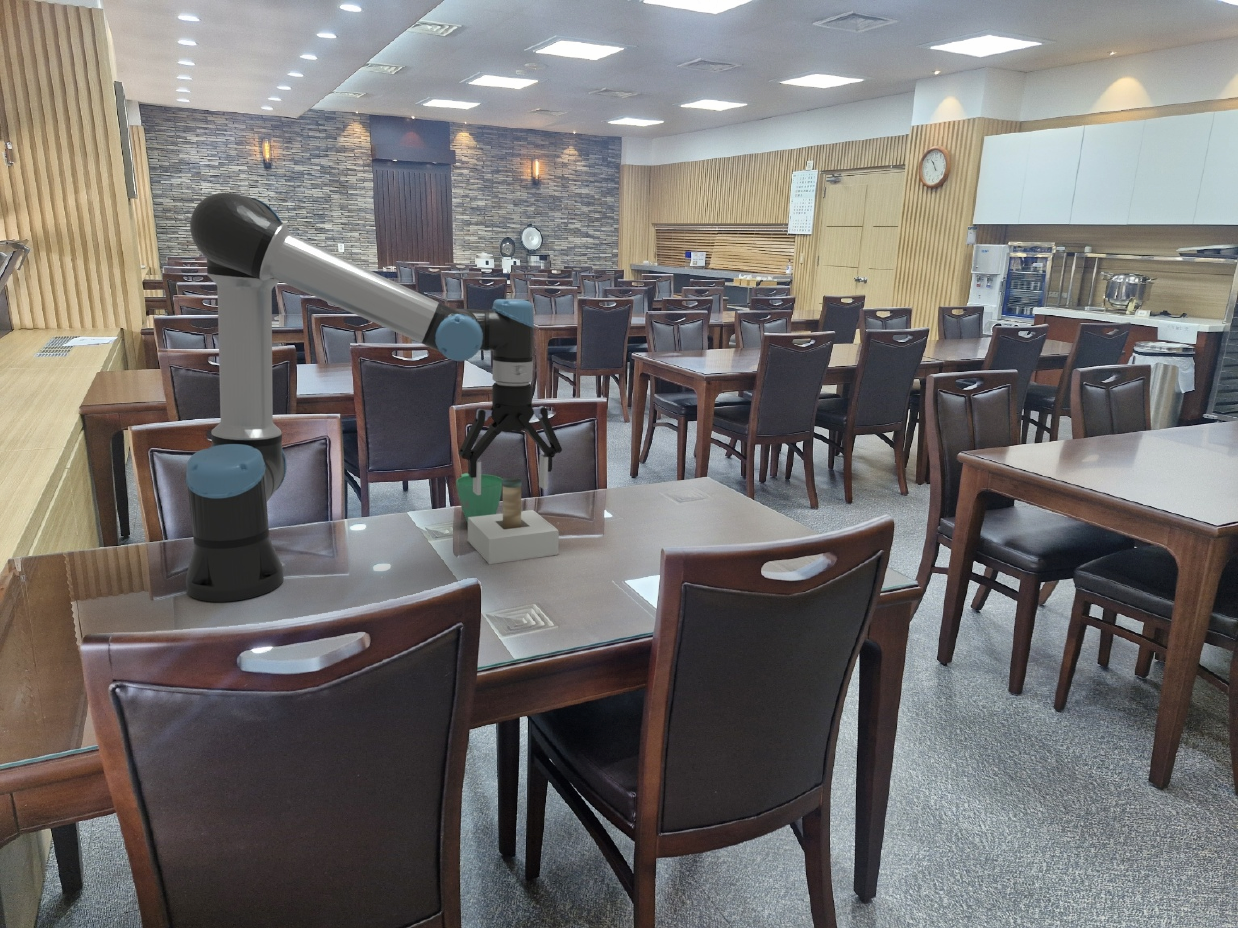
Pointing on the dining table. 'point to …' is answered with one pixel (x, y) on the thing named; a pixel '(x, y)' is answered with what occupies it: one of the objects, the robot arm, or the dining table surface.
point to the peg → (511, 503)
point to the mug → (479, 503)
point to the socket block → (512, 538)
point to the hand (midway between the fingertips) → (510, 490)
